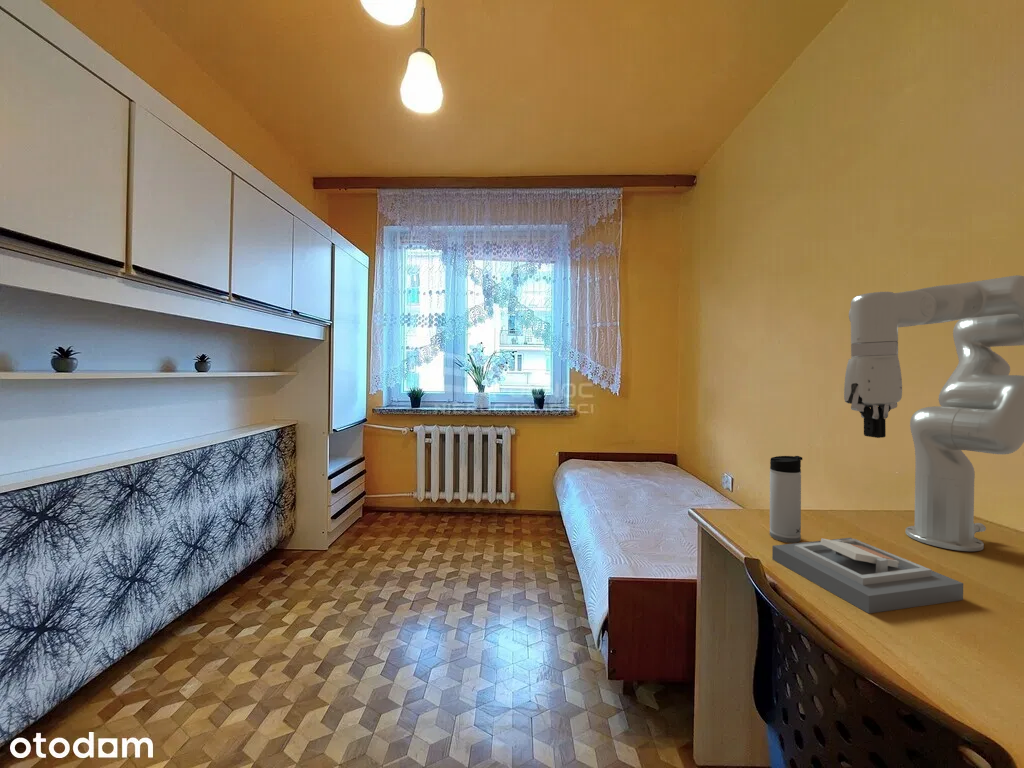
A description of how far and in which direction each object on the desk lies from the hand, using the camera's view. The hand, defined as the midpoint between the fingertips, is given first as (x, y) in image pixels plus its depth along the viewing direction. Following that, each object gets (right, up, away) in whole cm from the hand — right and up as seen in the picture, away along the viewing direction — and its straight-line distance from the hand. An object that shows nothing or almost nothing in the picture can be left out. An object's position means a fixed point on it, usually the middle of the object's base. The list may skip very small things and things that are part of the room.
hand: (874, 436), depth 87 cm
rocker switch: (-10, -22, -8) cm, 25 cm away
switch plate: (-10, -27, -8) cm, 30 cm away
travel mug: (-12, -26, +11) cm, 31 cm away
